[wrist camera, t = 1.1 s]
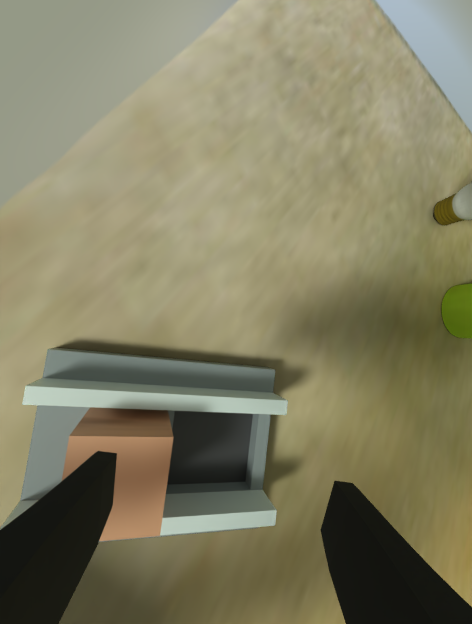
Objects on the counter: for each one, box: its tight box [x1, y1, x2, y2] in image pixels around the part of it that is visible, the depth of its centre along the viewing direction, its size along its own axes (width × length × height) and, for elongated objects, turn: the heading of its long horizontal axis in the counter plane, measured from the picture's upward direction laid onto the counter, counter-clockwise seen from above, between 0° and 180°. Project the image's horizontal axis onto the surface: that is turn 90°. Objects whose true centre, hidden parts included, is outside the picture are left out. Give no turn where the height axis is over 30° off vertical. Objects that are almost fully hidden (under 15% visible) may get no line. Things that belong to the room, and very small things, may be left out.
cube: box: [62, 407, 174, 541], centre depth 16 cm, size 5×5×5 cm
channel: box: [0, 348, 288, 542], centre depth 19 cm, size 12×16×4 cm
